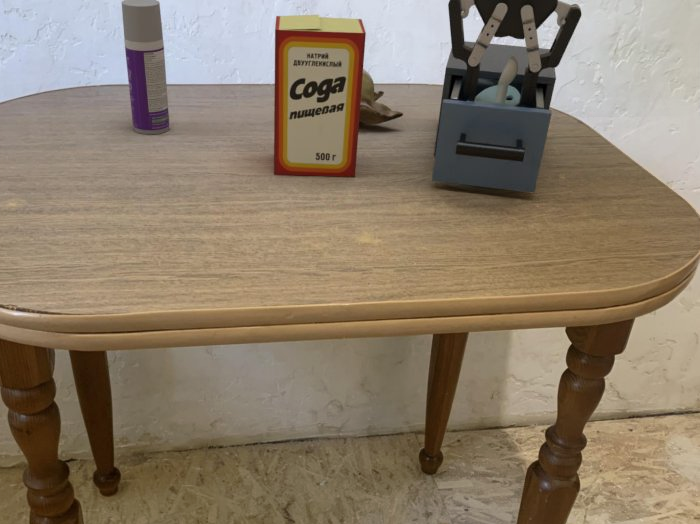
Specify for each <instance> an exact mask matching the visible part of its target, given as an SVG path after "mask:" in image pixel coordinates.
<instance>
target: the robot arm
mask: <svg viewBox="0 0 700 524" xmlns="http://www.w3.org/2000/svg"><path fill="white" fill-rule="evenodd" d="M447 3H448V4H447V5H448V6H447V9H448V19H449V20H448V21H449V33H450V42H451V48H452V55H453V57H454V58H456V59H460V60H462V61H464V62H465V63H466V65H467V71H466V78H465V84H464V95H467V96H469V100H468V101H472V102H474V100H475V96H476V89H477V83H478V77H479V71H480V65H481V63H479V62H480V60H481V58H482V56H483V54H484V52H485V51H486V49H487V47H488V46H489V44H491V42H492V40H493V38H506V37H509V38H514V39H516V40H524V42H525V47H526V49H527V54H528V61H529V64H528V67H526V69H525V75H524V80H523V85H522V90H521V95H520V101H519V106H520V107H526V103H527V102H532V100H533V98H534V95H535V90H536V85H537V81H538V76H539V73H540V72H541V71H542V70H543V69H546V68H549V67H551V68H555V69H556V68H557V67H558V66H559V65H560V63H561V61H562V59H563V56H564V54H565V52H566V50H567V48H568V46H569V44H570V42H571V39H572V37H573V35H574V33H575V31H576V28H577V27H578V24H579V22H580V20H581V18H582V10H581V7H580V5H579V4H576V3H573V4H569V3H568V2H567V3H566V2H564V1H561V0H449V1H448V2H447ZM473 6H475V8H476V10H477V12H478V14H479V16H480V18H481V20H482V23H483V26H482V28H481V30H480V31H479V34H478V35H477V39H476V40H475V41H474V42H475V44H474V46H473V48H470V47H468V46H466V45H465V41H466V40H465V30H464V20H465V19H466V18H468V16H469V14H470V9H471V7H473ZM554 12H555V13H556V15H557V16H556V24H557V26H558V27H559V29H558V31H557V33H556V35H555V38H554V39H553V42H552V44H551V46H550V48H549V49H550V51H549V52H548V53H545V54H541V55H540V51H539V48H540V45H539V38H538V31H537V30H538V29H539V28H540V27H541V26H542V25H543V24H544V23H545V22H546V21H547V20H548V18H549V17H550V16H551V15H552V14H553V13H554Z"/></svg>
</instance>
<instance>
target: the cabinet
mask: <svg viewBox="0 0 700 524" xmlns="http://www.w3.org/2000/svg"><path fill="white" fill-rule="evenodd" d="M464 41H465V45H466V46H468V47H470V48H473V46H474V44H475V42H476V41H467V40H464ZM539 51H540V55H541V54H545V53H548V52H549V51H550V48H544V47H543V48H542V47H539ZM511 56H513V57H515V58H516V60H517V62H518V71H517V74H516V76H515V78H514V80H513V81H520V82H523V80H524V75H525V69H526V67H528V64H529V61H528V54H527V49H526V46H520V45H510V44H509V45H508V44H498V43H490V44H489V46H488V47H487V49H486V51H485V52H484V54H483V56H482V58H481V60H480V62H479V63H481V65H480V71H479V78H489V79H500V77H501V74H502V72H503V70H504V68H505V66H506V64H507V62H508V60H509V59H510V57H511ZM466 71H467V65H466V63H465V62H464V61H462V60H460V59H456V58H454V57H453V55H452V47H451V49H450V53H449V55H448V59H447V62H446V65H445V71H444V78H443V84H442V85H443V86H442V94H441V99H440V101H441V102H440V108H439V115H438V122H437V123H438V124H437V129H436V137H435V143H434V152H433V156H434V157H435V155H436V148H437V140H438V133H439V126H440V119H441V111H442V104H443V100H444V99H448V100H451V95H452V91H453V87H454V83H455V79H456V75H459V76H466ZM556 80H557V75H556V67H555V68H551V67H549V68H546V69H543V70H542V71H541V72H540V73H539V76H538V81H537V83H540V84H542V89H543V102H544V109H545V110H550V108H551V103H552V98H553V95H554V94H553V93H554V89H555V85H556Z"/></svg>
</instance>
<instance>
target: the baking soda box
mask: <svg viewBox="0 0 700 524" xmlns="http://www.w3.org/2000/svg"><path fill="white" fill-rule="evenodd" d="M366 36H367V33H366V29H365V26H364V23H363V20H362V18H347V17H326V16H323V17H322V16H320V14H301V15H300V14H297V15H276V16H275V26H274V104H273V105H274V110H273V114H274V115H273V116H274V117H273V118H274V121H273V123H274V124H273V132H274V133H273V175H274V176H276V175H280V176H282V175H283V176H313V177H342V178H343V177H346V178H347V177H348V178H355V177H356V169H357V155H358V142H359V128H360V121H359V117H360V103H361V90H362V77H363V69H364V61H365V50H366V49H365V48H366Z"/></svg>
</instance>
